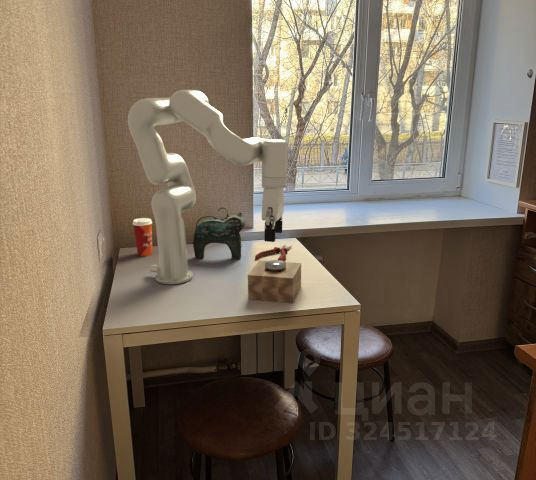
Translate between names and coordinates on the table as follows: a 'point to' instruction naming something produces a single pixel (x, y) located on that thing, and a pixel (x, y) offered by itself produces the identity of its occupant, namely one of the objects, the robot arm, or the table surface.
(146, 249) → the paper cup
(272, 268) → the grey metal rounded piece
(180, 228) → the robot arm
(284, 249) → the pliers
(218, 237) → the ceramic cat
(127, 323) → the table surface
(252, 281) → the socket block
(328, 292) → the table surface
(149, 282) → the table surface
